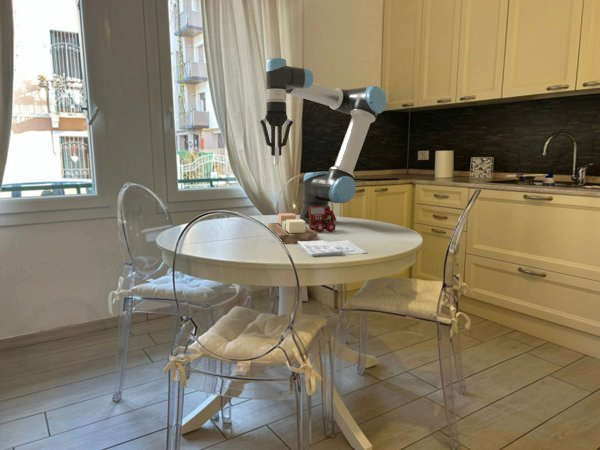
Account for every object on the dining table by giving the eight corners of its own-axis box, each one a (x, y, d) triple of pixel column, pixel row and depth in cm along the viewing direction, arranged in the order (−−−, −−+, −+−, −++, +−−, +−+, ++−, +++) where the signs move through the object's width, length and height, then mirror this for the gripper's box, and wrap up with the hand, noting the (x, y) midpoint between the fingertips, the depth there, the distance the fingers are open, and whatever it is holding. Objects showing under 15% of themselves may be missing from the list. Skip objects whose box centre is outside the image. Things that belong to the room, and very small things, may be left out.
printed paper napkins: (296, 245, 154) (296, 239, 154) (350, 243, 159) (350, 237, 159) (310, 258, 136) (310, 252, 136) (370, 256, 141) (370, 249, 140)
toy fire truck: (339, 231, 180) (340, 206, 178) (312, 233, 175) (312, 207, 173) (331, 228, 186) (332, 204, 184) (305, 230, 181) (305, 205, 179)
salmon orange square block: (292, 222, 180) (292, 213, 179) (295, 225, 174) (295, 215, 174) (278, 223, 179) (278, 213, 178) (281, 225, 173) (281, 215, 172)
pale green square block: (296, 230, 173) (296, 220, 172) (300, 233, 167) (300, 223, 166) (282, 230, 171) (282, 220, 171) (284, 233, 166) (285, 223, 165)
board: (300, 229, 183) (300, 221, 183) (317, 241, 158) (317, 233, 158) (268, 230, 180) (268, 222, 180) (279, 243, 155) (279, 234, 155)
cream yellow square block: (301, 229, 165) (301, 219, 164) (305, 232, 159) (305, 221, 158) (286, 230, 163) (286, 219, 163) (289, 233, 158) (289, 222, 157)
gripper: (260, 100, 159) (261, 164, 163) (295, 101, 163) (294, 164, 167) (257, 102, 167) (258, 164, 171) (290, 103, 170) (290, 164, 174)
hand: (276, 164), depth 169 cm, fingers closed
